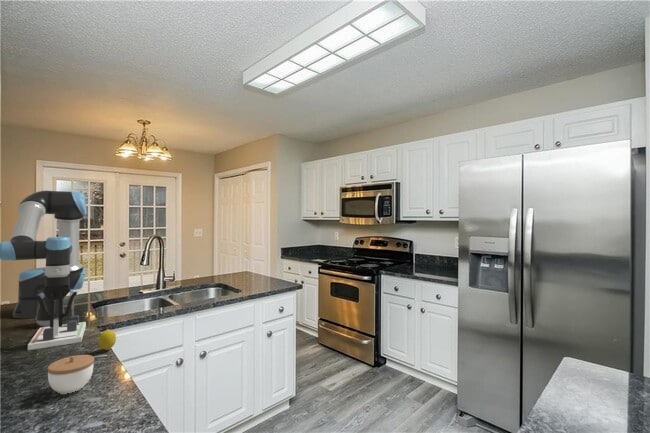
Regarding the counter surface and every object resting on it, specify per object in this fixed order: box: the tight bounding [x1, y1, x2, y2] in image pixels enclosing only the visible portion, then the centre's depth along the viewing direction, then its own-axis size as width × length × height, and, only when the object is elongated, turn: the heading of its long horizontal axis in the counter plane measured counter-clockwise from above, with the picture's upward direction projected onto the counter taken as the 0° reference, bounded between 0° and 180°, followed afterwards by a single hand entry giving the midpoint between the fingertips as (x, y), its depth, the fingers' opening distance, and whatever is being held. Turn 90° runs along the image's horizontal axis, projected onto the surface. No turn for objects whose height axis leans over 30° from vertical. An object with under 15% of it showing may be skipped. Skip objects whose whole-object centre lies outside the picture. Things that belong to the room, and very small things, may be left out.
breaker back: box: [69, 314, 80, 325], centre depth 142 cm, size 3×3×4 cm
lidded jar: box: [47, 354, 95, 395], centre depth 93 cm, size 11×11×9 cm
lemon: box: [98, 328, 117, 351], centre depth 120 cm, size 6×6×8 cm
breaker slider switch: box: [43, 328, 54, 340], centre depth 125 cm, size 3×3×4 cm
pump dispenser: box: [34, 295, 65, 327], centre depth 147 cm, size 10×10×15 cm
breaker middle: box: [66, 320, 77, 331], centre depth 135 cm, size 3×3×4 cm
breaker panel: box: [27, 321, 87, 351], centre depth 133 cm, size 22×16×2 cm
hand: (56, 335), depth 126 cm, fingers closed
